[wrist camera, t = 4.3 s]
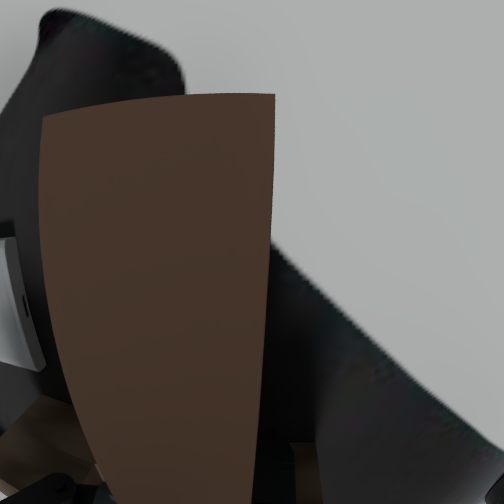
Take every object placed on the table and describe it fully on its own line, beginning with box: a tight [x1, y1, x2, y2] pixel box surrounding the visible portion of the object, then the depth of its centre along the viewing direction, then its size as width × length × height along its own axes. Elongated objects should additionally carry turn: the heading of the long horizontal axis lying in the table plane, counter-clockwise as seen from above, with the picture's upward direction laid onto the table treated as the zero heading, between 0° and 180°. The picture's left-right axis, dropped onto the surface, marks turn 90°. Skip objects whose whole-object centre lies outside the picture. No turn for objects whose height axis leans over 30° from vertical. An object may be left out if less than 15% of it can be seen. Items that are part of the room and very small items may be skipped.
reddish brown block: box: [39, 93, 275, 504], centre depth 8 cm, size 3×12×8 cm, turn 178°
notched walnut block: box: [0, 394, 323, 504], centre depth 12 cm, size 18×3×8 cm, turn 88°
